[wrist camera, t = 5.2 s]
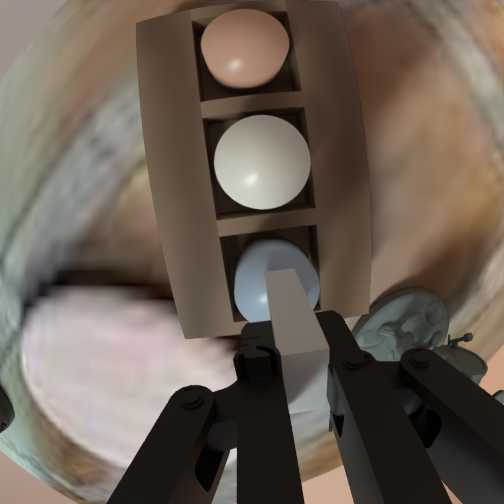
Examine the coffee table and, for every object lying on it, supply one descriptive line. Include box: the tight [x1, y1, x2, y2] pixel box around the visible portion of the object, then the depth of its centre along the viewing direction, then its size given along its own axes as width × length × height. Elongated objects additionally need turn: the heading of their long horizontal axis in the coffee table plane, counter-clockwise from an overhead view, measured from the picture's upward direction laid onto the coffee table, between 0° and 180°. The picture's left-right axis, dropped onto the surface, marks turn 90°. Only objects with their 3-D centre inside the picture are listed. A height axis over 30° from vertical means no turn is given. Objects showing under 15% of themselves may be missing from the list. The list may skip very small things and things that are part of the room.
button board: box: [136, 0, 371, 339], centre depth 16 cm, size 12×20×4 cm, turn 7°
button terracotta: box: [201, 9, 289, 93], centre depth 13 cm, size 4×4×3 cm
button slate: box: [234, 236, 320, 322], centre depth 16 cm, size 4×4×3 cm
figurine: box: [351, 288, 504, 404], centre depth 17 cm, size 11×11×12 cm
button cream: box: [214, 115, 311, 209], centre depth 14 cm, size 4×4×3 cm
